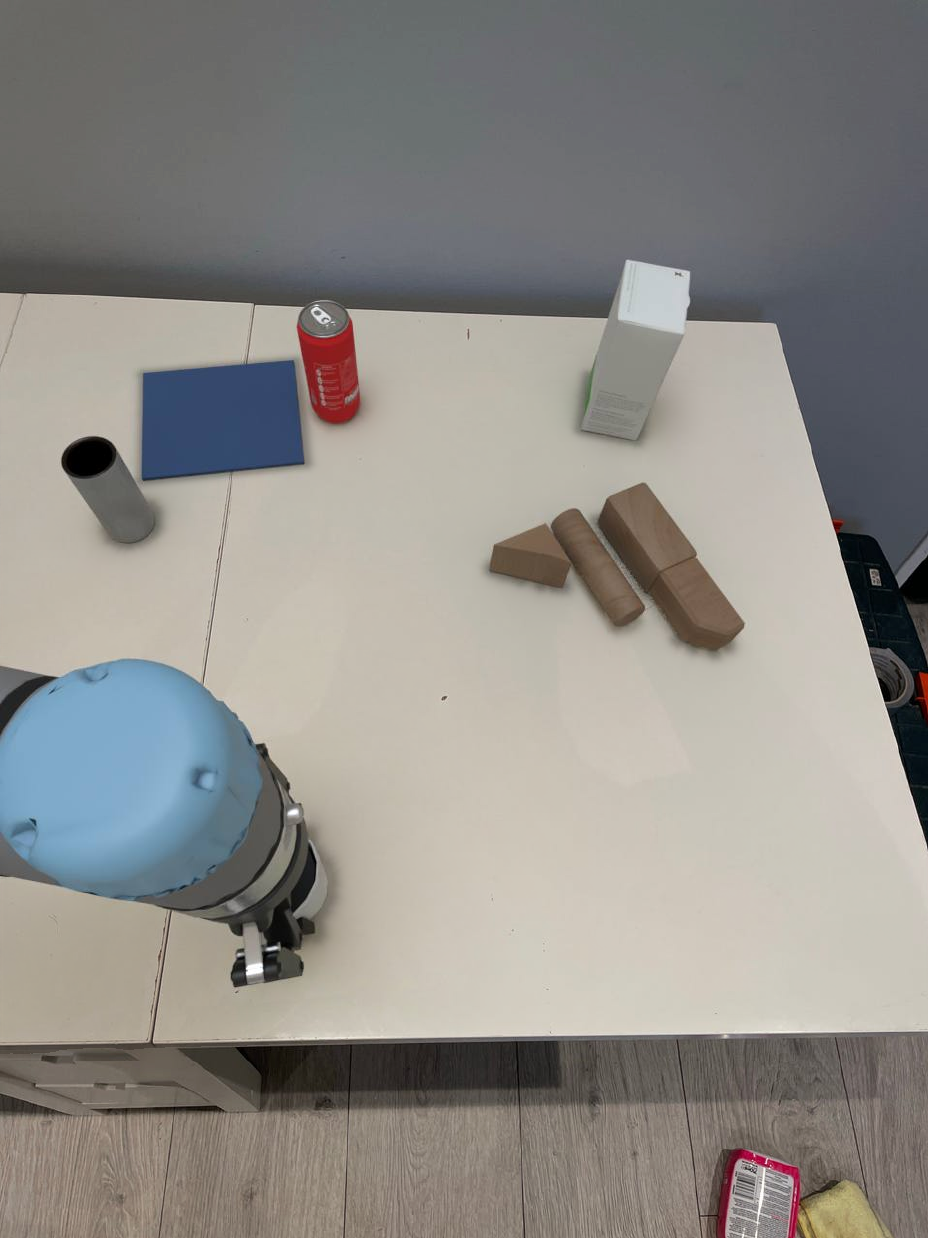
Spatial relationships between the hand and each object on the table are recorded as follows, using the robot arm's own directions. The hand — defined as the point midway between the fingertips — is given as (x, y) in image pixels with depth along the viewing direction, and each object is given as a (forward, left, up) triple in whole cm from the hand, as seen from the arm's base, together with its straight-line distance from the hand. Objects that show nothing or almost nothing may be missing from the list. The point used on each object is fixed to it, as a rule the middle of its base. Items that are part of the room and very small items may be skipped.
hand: (293, 886), depth 58 cm
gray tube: (-13, +36, -1) cm, 38 cm away
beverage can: (+8, +48, -1) cm, 49 cm away
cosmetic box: (+38, +44, -1) cm, 58 cm away
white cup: (0, 0, 0) cm, 0 cm away
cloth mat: (-4, +48, 0) cm, 48 cm away
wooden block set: (+31, +21, -1) cm, 37 cm away
